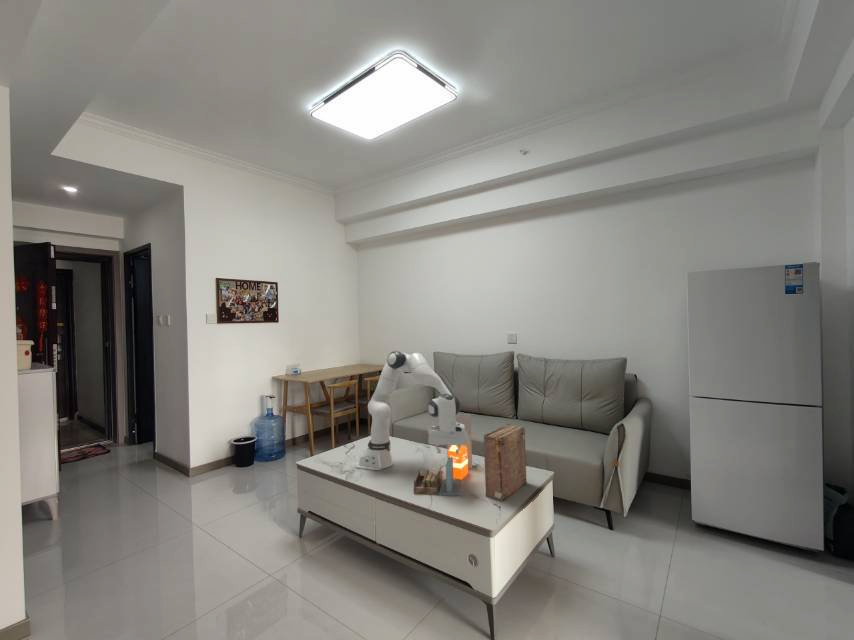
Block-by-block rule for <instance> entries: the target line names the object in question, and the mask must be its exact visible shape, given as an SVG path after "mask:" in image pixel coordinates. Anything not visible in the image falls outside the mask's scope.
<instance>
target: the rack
mask: <svg viewBox="0 0 854 640" xmlns="http://www.w3.org/2000/svg"><path fill="white" fill-rule="evenodd" d="M429 472H430V470H429V469H428V470H426V473H425V474H422V473H421V469H418V470H417V473H416V474H415V475H416V476H415V477H414V480H413V494H416V495H438V494H439V491H440V487H441V484H442V476H441V470H438V471H437V473H436V474H437V477H436V480H435V488H432V487H426V479H427V476H428V473H429ZM421 482H422V486H420V484H421Z"/></svg>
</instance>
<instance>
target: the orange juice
mask: <svg viewBox="0 0 854 640" xmlns="http://www.w3.org/2000/svg"><path fill="white" fill-rule="evenodd" d="M458 448H459V447H458V445H452V446H451V447H450V449H449V450H448V456H447V458H448V457H453V473H454V479H457V480H463V479H465V477H466V476H467V475H468V474H469V468H468V458H467V447H466V446H462V445H461V448H460V450H459V454H456V449H458Z"/></svg>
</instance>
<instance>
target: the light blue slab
mask: <svg viewBox="0 0 854 640" xmlns="http://www.w3.org/2000/svg"><path fill="white" fill-rule="evenodd" d="M445 479H446V483H447V492H452V488H453V483H454V479H455V478H454V473H453V457H448V456H447V461H446V463H445Z"/></svg>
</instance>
